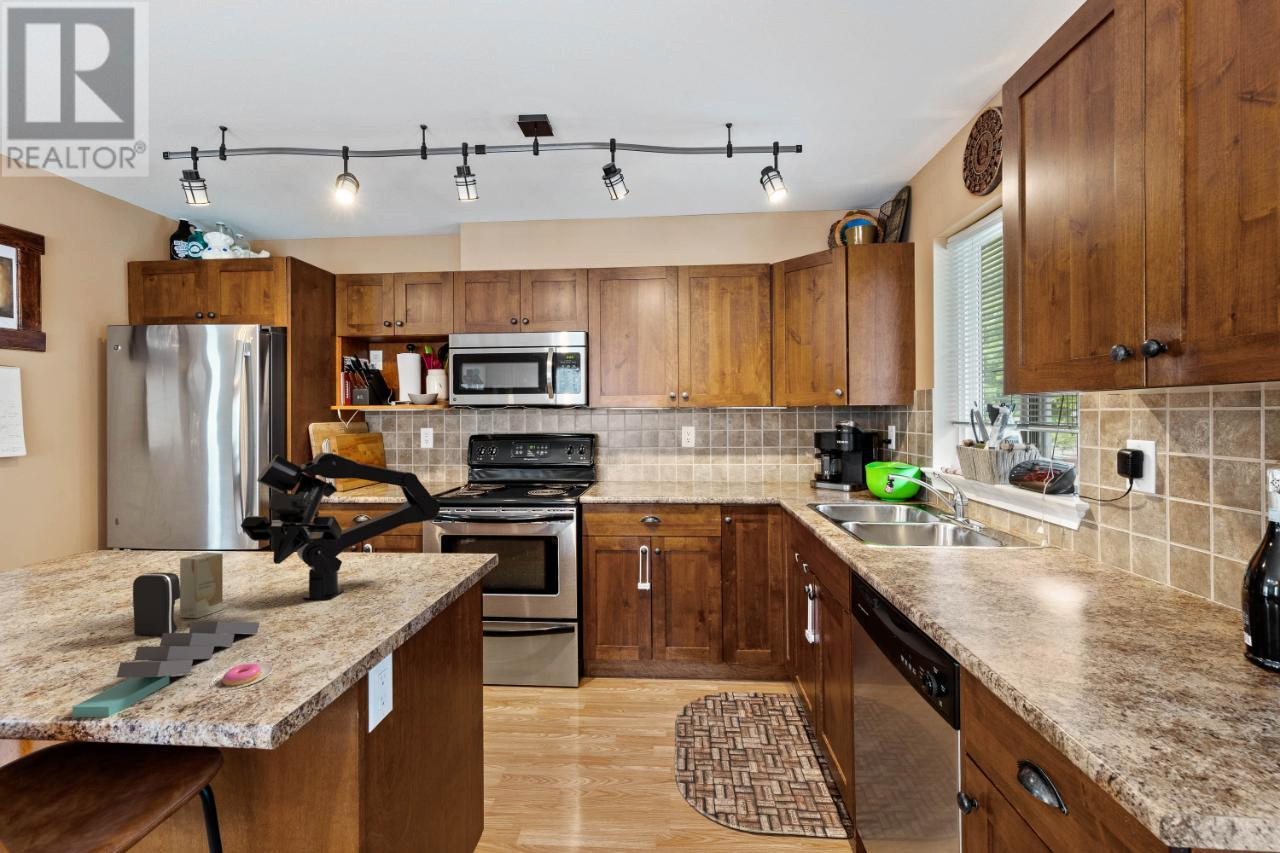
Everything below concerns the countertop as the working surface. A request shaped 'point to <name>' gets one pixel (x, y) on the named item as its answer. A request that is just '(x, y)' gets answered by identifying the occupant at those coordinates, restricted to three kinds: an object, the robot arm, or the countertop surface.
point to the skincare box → (201, 585)
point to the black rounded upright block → (155, 603)
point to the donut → (244, 674)
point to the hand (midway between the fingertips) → (276, 562)
